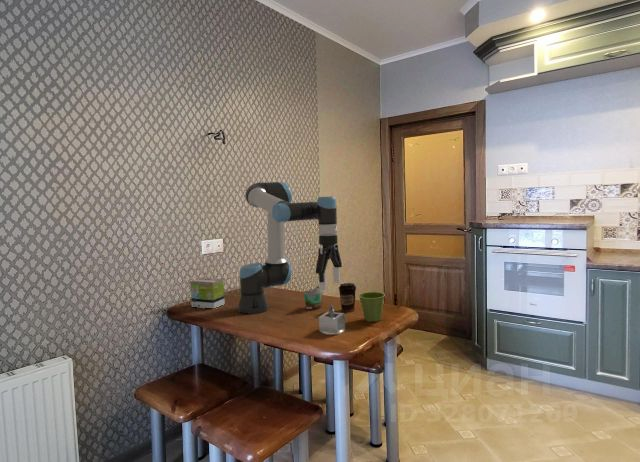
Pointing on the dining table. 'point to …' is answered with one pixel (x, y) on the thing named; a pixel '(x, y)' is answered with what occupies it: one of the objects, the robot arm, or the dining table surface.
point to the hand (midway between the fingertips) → (330, 286)
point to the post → (331, 314)
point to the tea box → (207, 293)
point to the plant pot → (372, 305)
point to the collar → (332, 322)
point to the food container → (313, 299)
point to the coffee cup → (347, 296)
